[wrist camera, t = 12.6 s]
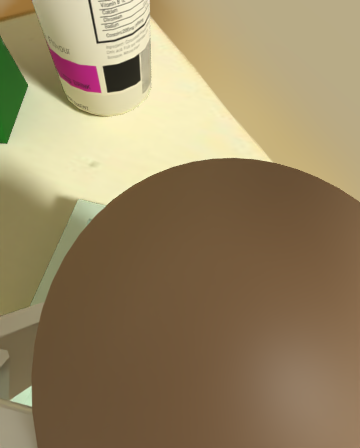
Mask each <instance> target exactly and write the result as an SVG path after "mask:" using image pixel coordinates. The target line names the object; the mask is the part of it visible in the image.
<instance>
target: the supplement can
mask: <svg viewBox="0 0 360 448" xmlns="http://www.w3.org/2000/svg"><path fill="white" fill-rule="evenodd" d="M32 3H33V5H34V8H35V11H36V14H37V17H38V19H39V22H40V25H41V28H42V31H43V33H44V36H45V39H46V42H47V45H48V47H49V50H50V53H51V56H52V59H53V62H54V64H55V67H56V70H57V73H58V76H59V78H60V81H61V84H62V87H63V90H64V92H65V94H66V96H67V98H68V100H69V101H70V102H72V103H73V104H74V105H75V106H76V107H77V108H79V109H81V110H84V111H86V112H89V113H91V114H95V115H100V116H116V115H122V114H125V113H127V112H129V111H131V110H133V109H135V108H136V107H138V106H139V105H140V104H141V103H142V102H143V101H144V100H145V99H146V98H147V97H148V95H149V92H150V90H151V44H150V1H149V0H32Z"/></svg>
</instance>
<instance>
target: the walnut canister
mask: <svg viewBox="0 0 360 448" xmlns="http://www.w3.org/2000/svg"><path fill="white" fill-rule="evenodd" d="M31 383H32V414H33V420H34V427H35V434H36V441H37V447H38V448H360V202H359V201H357V200H356V199H354V198H353V197H351V196H350V195H348V194H347V193H345V192H344V191H342V190H340V189H339V188H337V187H335V186H333V185H331V184H329V183H327V182H325V181H323V180H322V179H319V178H318V177H315V176H313V175H310V174H308V173H305V172H303V171H300V170H298V169H294V168H291V167H287V166H284V165H280V164H277V163H271V162H266V161H260V160H254V159H240V158H223V159H209V160H202V161H196V162H190V163H187V164H183V165H179V166H176V167H172V168H169V169H167V170H164V171H162V172H159V173H157V174H154V175H152V176H150V177H148V178H146V179H144V180H142V181H141V182H139V183H137V184H135V185H133V186H132V187H130V188H129V189H127V190H126V191H125V192H123V193H122V194H120V195H119V196H118V197H116V198H115V199H113V200H112V201H111V202H110V203H109V204H108V205H107V206H106V207H105V208H103V209H102V210H101V211H100V212H99V213H98V214H97V215H96V216H95V217H94V218H93V219H92V220H91V222H90V223H89V224H88V225H87V226H86V227H85V229H84V230H83V231H82V232H81V233H80V234H79V236H78V237H77V239H76V240H75V242H74V243H73V245H72V246H71V248H70V249H69V251H68V252H67V254H66V255H65V257H64V259H63V261H62V263H61V265H60V267H59V269H58V271H57V273H56V275H55V277H54V279H53V281H52V283H51V286H50V289H49V291H48V294H47V297H46V300H45V303H44V305H43V308H42V311H41V316H40V320H39V325H38V329H37V333H36V338H35V343H34V353H33V363H32V373H31Z"/></svg>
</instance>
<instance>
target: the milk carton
mask: <svg viewBox="0 0 360 448" xmlns="http://www.w3.org/2000/svg"><path fill="white" fill-rule="evenodd" d="M27 87H28V84H27V82H26V80H25V79H24V77H23V75H22V73H21V72H20V70H19V68H18V66H17V65H16V63H15V61H14V60H13V58H12V56H11V54H10V53H9V51H8V49H7V48H6V46H5V44H4V42H3V40H2V38H1V36H0V143H6V144H7V142H8V140H9V137H10V134H11V131H12V129H13V126H14V123H15V120H16V118H17V115H18V112H19V109H20V106H21V104H22V101H23V98H24V95H25V93H26V90H27Z"/></svg>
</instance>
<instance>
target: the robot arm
mask: <svg viewBox="0 0 360 448" xmlns="http://www.w3.org/2000/svg"><path fill="white" fill-rule="evenodd" d="M43 305H44V302H42V303H39V304H36V305H33V306H30V307H27V308H23V309H20V310H17V311H14V312H11V313H8V314H5V315H2V316H0V448H38V447H37V441H36V434H35V427H34V420H33V414H32V407H31V406H28V405H24V404H20V403H17V402H13V401H10V400H11V399H12V398H14V397H15V396H17V395H18V394H20V393H21V392H23V391H24V390H26V389H27V388H29V387H30V386H32V383H31V373H32V363H33V353H34V343H35V338H36V333H37V329H38V325H39V320H40V316H41V311H42V308H43Z"/></svg>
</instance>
